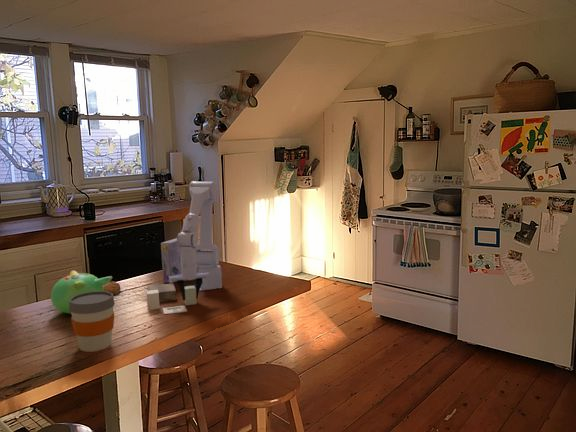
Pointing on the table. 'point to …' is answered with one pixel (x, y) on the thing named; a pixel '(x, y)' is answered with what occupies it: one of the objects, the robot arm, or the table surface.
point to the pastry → (112, 287)
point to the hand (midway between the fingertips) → (190, 298)
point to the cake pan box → (170, 259)
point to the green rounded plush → (75, 288)
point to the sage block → (190, 295)
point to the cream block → (153, 299)
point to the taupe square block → (164, 291)
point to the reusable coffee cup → (92, 319)
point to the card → (174, 309)
